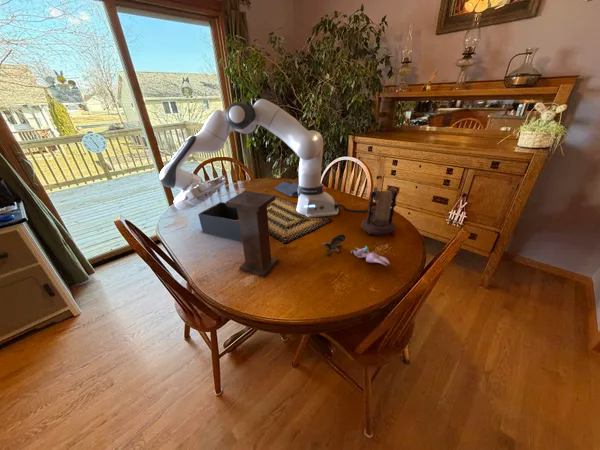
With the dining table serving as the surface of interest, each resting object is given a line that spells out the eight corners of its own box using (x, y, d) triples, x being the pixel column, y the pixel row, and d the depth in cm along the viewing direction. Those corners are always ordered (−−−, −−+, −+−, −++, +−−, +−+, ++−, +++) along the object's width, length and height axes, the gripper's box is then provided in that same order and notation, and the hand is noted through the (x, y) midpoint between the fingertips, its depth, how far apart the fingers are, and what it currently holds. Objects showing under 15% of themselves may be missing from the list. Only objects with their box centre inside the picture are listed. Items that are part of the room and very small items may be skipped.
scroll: (364, 238, 101) (370, 193, 91) (358, 221, 114) (363, 181, 104) (399, 238, 100) (409, 194, 90) (389, 222, 113) (397, 181, 103)
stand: (237, 270, 83) (225, 201, 70) (253, 254, 91) (245, 190, 78) (265, 278, 79) (258, 207, 66) (279, 261, 87) (275, 195, 75)
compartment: (202, 231, 107) (198, 214, 102) (223, 218, 118) (220, 201, 114) (244, 242, 99) (241, 223, 95) (262, 226, 111) (260, 208, 106)
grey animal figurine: (343, 257, 87) (349, 241, 93) (333, 242, 85) (340, 227, 91) (326, 260, 92) (334, 245, 98) (316, 247, 90) (325, 232, 96)
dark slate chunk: (290, 183, 164) (290, 177, 162) (312, 192, 150) (312, 184, 147) (272, 188, 155) (272, 181, 153) (293, 198, 141) (293, 190, 138)
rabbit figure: (348, 258, 90) (382, 272, 79) (347, 244, 88) (383, 257, 77) (358, 252, 94) (393, 265, 82) (358, 238, 92) (393, 250, 80)
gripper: (175, 194, 98) (194, 181, 90) (210, 180, 114) (227, 167, 107) (184, 207, 99) (203, 195, 92) (217, 191, 116) (235, 180, 108)
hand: (216, 180), depth 99 cm, fingers open, 8 cm apart
